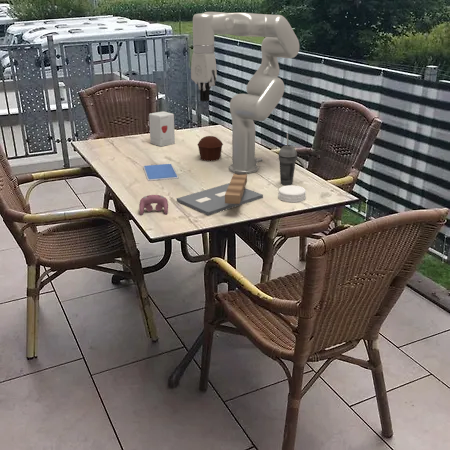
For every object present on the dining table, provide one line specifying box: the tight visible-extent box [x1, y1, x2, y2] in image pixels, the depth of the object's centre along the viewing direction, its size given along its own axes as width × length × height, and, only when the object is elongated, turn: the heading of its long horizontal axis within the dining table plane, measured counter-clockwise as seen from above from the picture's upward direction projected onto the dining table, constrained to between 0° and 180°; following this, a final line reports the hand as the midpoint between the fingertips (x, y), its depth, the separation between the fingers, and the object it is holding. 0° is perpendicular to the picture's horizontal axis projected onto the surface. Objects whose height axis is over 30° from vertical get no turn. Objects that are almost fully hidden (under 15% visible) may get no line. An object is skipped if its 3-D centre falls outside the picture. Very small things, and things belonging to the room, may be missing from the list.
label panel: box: [176, 182, 264, 216], centre depth 202 cm, size 26×18×4 cm
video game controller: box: [138, 194, 169, 216], centre depth 191 cm, size 10×5×7 cm, turn 94°
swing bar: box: [225, 171, 248, 204], centre depth 198 cm, size 26×5×3 cm, turn 172°
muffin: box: [197, 135, 224, 162], centre depth 249 cm, size 12×11×10 cm
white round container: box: [277, 184, 307, 203], centre depth 204 cm, size 10×10×4 cm
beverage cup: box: [278, 132, 298, 186], centre depth 215 cm, size 7×7×20 cm
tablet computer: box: [142, 163, 179, 182], centre depth 232 cm, size 19×13×1 cm, turn 14°
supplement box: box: [148, 110, 176, 147], centre depth 273 cm, size 9×9×15 cm
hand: (204, 100), depth 209 cm, fingers closed
